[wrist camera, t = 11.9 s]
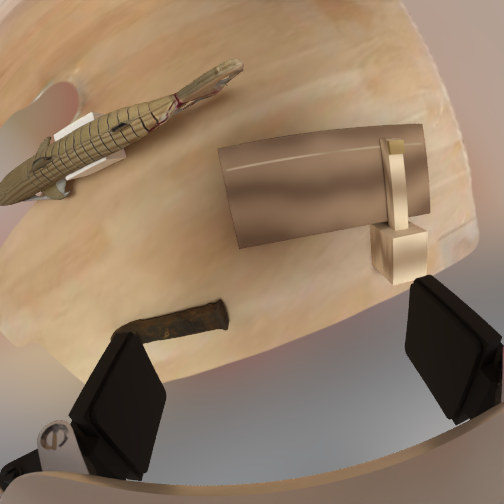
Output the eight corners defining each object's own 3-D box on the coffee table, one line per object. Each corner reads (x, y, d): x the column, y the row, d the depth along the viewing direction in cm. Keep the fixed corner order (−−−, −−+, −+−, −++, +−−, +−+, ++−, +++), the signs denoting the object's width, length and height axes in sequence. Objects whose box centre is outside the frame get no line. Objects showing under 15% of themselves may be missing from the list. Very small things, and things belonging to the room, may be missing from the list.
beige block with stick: (359, 140, 33) (383, 139, 27) (393, 138, 33) (421, 137, 27) (371, 264, 39) (393, 285, 32) (401, 257, 39) (426, 276, 32)
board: (219, 149, 34) (217, 148, 31) (412, 124, 32) (422, 123, 30) (239, 242, 38) (239, 249, 35) (420, 209, 36) (430, 213, 34)
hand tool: (223, 294, 40) (220, 311, 36) (231, 318, 42) (229, 337, 37) (109, 315, 42) (97, 331, 37) (119, 336, 43) (109, 353, 38)
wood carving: (255, 122, 33) (259, 109, 22) (35, 215, 35) (-12, 237, 25) (234, 58, 30) (229, 22, 19) (20, 163, 33) (-30, 173, 22)
